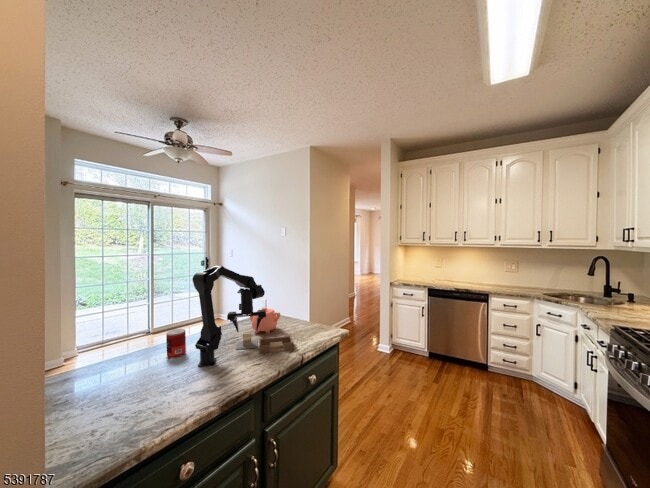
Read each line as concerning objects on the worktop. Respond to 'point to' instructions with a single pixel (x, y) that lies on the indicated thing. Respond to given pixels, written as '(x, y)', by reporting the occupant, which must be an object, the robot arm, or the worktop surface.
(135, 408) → the worktop surface
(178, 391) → the worktop surface
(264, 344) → the box
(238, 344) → the rubber mat
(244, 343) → the maple block
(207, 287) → the robot arm
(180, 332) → the canned food
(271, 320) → the teapot
